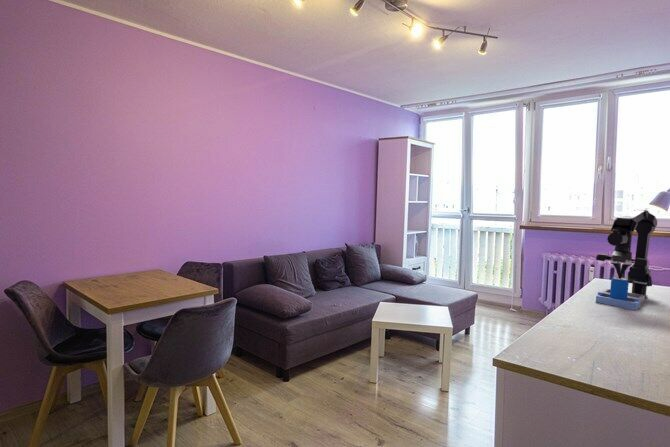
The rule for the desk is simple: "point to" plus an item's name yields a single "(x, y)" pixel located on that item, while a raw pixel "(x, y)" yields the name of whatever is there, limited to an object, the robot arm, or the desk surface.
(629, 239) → the robot arm
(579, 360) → the desk surface
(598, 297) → the slot holder
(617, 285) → the beverage can
